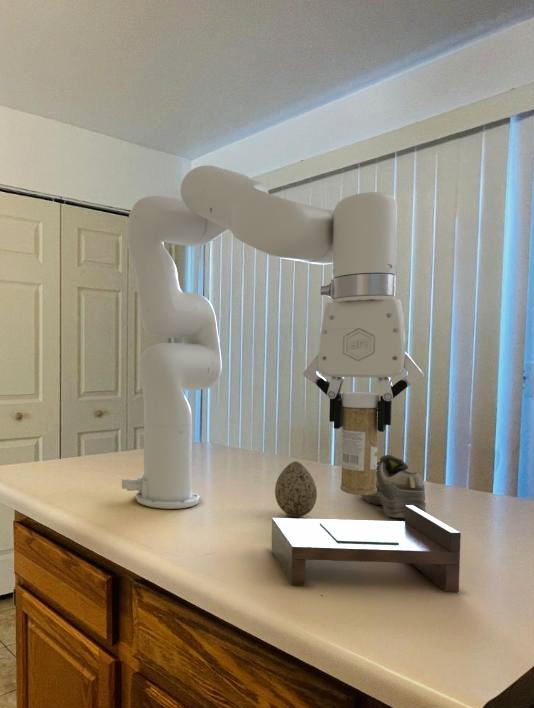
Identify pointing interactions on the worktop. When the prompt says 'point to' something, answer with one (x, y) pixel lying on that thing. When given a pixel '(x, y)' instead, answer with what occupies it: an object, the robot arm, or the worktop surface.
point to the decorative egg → (295, 490)
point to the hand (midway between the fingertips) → (359, 427)
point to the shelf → (370, 545)
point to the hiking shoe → (397, 487)
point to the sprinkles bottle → (359, 443)
